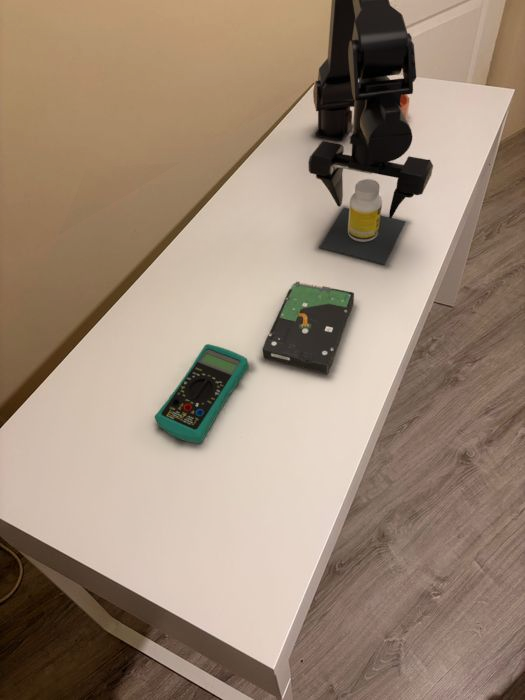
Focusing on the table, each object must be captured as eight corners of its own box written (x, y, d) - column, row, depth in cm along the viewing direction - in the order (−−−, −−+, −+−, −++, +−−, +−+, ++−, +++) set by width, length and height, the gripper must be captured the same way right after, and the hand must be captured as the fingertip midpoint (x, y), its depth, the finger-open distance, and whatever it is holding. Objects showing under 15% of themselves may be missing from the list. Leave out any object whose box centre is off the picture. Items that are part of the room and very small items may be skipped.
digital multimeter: (155, 429, 69) (149, 418, 67) (209, 351, 77) (206, 339, 74) (199, 449, 67) (194, 439, 64) (250, 366, 74) (248, 355, 72)
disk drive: (329, 376, 72) (354, 302, 80) (329, 365, 70) (355, 290, 78) (262, 360, 75) (292, 290, 83) (261, 349, 73) (292, 278, 80)
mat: (319, 248, 88) (319, 246, 88) (343, 208, 94) (343, 207, 94) (384, 265, 84) (384, 263, 84) (405, 222, 90) (405, 221, 90)
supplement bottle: (380, 242, 87) (386, 195, 80) (349, 243, 88) (352, 197, 80) (376, 222, 91) (381, 175, 83) (346, 224, 91) (349, 177, 83)
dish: (355, 127, 111) (356, 107, 108) (370, 106, 116) (371, 86, 113) (398, 134, 108) (401, 114, 104) (412, 112, 113) (415, 92, 110)
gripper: (451, 105, 74) (432, 194, 86) (333, 89, 80) (331, 174, 92) (430, 145, 68) (413, 234, 80) (306, 124, 74) (308, 209, 87)
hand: (365, 210), depth 85 cm, fingers open, 9 cm apart
